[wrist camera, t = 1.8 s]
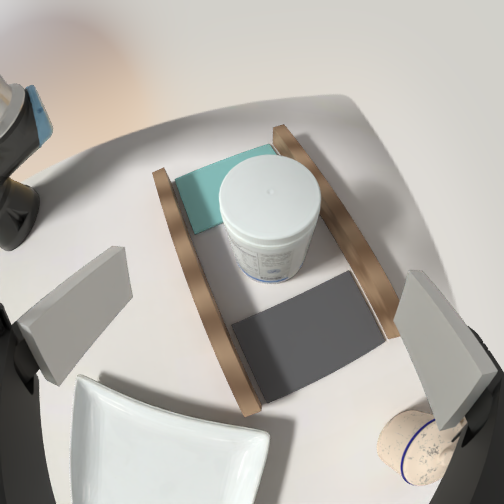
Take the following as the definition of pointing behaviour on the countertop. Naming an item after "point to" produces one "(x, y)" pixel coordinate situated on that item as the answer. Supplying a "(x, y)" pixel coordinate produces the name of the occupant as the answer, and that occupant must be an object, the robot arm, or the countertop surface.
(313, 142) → the countertop surface
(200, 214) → the pad
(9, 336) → the robot arm
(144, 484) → the square plate
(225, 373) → the channel rails
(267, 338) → the trap mat
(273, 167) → the supplement tub
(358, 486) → the countertop surface
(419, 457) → the teacup with lid
